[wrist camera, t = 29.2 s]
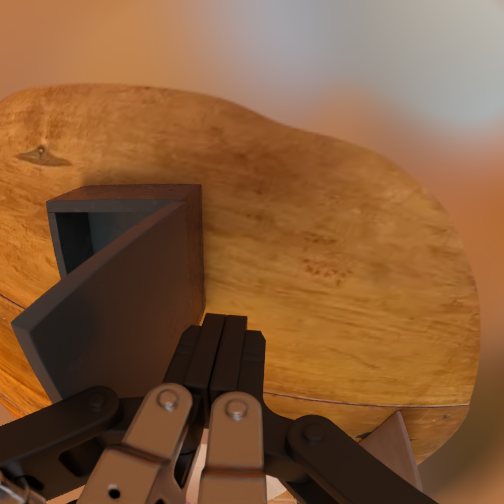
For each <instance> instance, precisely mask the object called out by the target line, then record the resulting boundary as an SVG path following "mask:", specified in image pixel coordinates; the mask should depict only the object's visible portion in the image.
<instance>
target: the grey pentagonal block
mask: <svg viewBox="0 0 504 504" xmlns="http://www.w3.org/2000/svg"><path fill="white" fill-rule="evenodd" d="M358 444H359V445H360V446H362V447H363V448H364V449H365V450H367V451H368V452H369V453H370V454H372V455H373V456H374V457H375V458H377V459H378V460H379V461H380V462H382V463H383V464H384V465H386V466H387V467H388V468H390V469H391V470H392V471H393V472H395V473H396V474H397V475H399V476H400V477H401V478H403V479H404V480H406V481H407V482H408V483H410V484H411V485H412V486H414V487H415V488H417V489H418V490H419V491H421V492H422V493H423V488H422V484H421V480H420V476H419V472H418V468H417V465H416V461H415V457H414V454H413V450H412V447H411V443H410V440H409V437H408V433H407V430H406V427H405V424H404V421H403V417H402V414H401V412H400V411H397V412H395V413H394V414H393V415H392V416H391V417H390V418H388V419H387V420H386V421H385V422H384V423H383V424H381V425H380V426H379V427H378V428H377V429H375V430H374V431H373V432H372V433H370V434H369V435H368V436H367V437H365V438H364V439H363V440H362V441H360V442H359V443H358Z"/></svg>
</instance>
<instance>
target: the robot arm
mask: <svg viewBox="0 0 504 504" xmlns="http://www.w3.org/2000/svg"><path fill="white" fill-rule="evenodd" d="M265 345H266V340H265V338H264V336H263V335H262V333H261V331H254V330H247V316H237V315H224V314H213V313H206V315H205V318H204V321H203V324H202V326H198V325H191V326H190V327H189V328H187V329H186V330H185V331H184V332H183V333H182V335H181V338H180V340H179V342H178V345H177V347H176V349H175V353H174V354H173V357H172V359H171V362H170V364H169V366H168V369H167V371H166V374H165V376H164V379H163V381H162V383H161V384H159V385H157V386H155V387H153V388H152V389H150V390H149V392H148V393H147V394H146V396H142V397H131V398H119V397H118V395H117V393H116V392H115V391H114V390H113V389H111V388H109V387H106V386H93V387H90V388H88V389H85V390H83V391H81V392H79V393H77V394H75V395H72V396H70V397H68V398H66V399H64V400H61V401H59V402H57V403H55V404H52V405H50V406H48V407H45V408H43V409H41V410H39V411H36V412H34V413H31V414H29V415H27V416H24V417H22V418H20V419H17V420H15V421H12V422H10V423H7V424H5V425H2V426H0V504H46V501H48V500H51V499H53V498H55V497H58V496H60V495H63V494H65V493H68V492H70V491H72V490H74V489H77V488H79V487H81V486H83V485H85V484H86V485H85V487H84V489H83V491H82V493H81V495H80V497H79V499H76V500H73V501H71V502H69V503H67V504H186V493H187V489H188V486H189V483H190V480H191V477H192V474H193V471H194V467H195V464H196V461H197V458H198V455H199V452H200V449H201V439H202V435H203V431H204V429H209V432H208V441H207V450H206V459H205V466H204V468H203V469H202V471H201V476H200V482H199V492H198V501H197V504H267V482H266V475H268V476H271V477H274V478H277V479H278V480H279V482H280V483H281V484H282V485H283V486H284V487H285V488H286V489H287V490H288V491H289V492H290V493H291V494H292V495H293V496H294V497H295V498H296V499H297V500H298V501H299V502H300V503H301V504H438V503H437V502H435V501H434V500H432V499H431V498H430V497H428V496H426V495H425V494H424V493H422V492H421V491H419V490H418V489H417V488H415V487H414V486H412V485H411V484H410V483H408V482H407V481H406V480H404V479H403V478H401V477H400V476H399V475H397V474H396V473H395V472H393V471H392V470H391V469H390V468H388V467H387V466H386V465H384V464H383V463H382V462H380V461H379V460H378V459H377V458H375V457H374V456H373V455H372V454H370V453H369V452H368V451H367V450H365V449H364V448H363V447H362V446H360V445H359V444H358V443H357V442H356V441H354V440H353V439H352V438H351V437H349V436H348V435H347V434H346V433H345V432H344V431H342V430H341V429H340V428H339V427H338V426H336V425H335V424H334V423H333V422H332V421H330V420H329V419H327V418H325V417H322V416H319V415H306V416H302V417H300V418H298V419H296V420H292V419H289V418H285V417H282V416H279V415H277V414H275V413H274V412H272V411H271V410H270V409H269V408H268V407H267V406H266V404H265V403H264V400H263V380H264V363H265Z"/></svg>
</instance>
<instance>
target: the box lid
mask: <svg viewBox="0 0 504 504" xmlns="http://www.w3.org/2000/svg"><path fill="white" fill-rule="evenodd" d="M191 325H193V323H192V313H191V301H190V288H189V274H188V258H187V239H186V214H185V203H184V202H171V203H169V204H168V205H166V206H165V207H163V208H162V209H160V210H158V211H157V212H155V213H154V214H152V215H151V216H149V217H148V218H146V219H145V220H143V221H142V222H140V223H139V224H137V225H136V226H134V227H133V228H131V229H130V230H128V231H127V232H125V233H124V234H122V235H121V236H120V237H118V238H117V239H115V240H114V241H112V242H111V243H110V244H108V245H107V246H105V247H104V248H103V249H101V250H100V251H99V252H97V253H96V254H94V255H93V256H92V257H90V258H89V259H88V260H86V261H85V262H84V263H82V264H81V265H80V266H78V267H77V268H76V269H74V270H73V271H72V272H71V273H69V274H68V275H67V276H65V277H64V278H63V279H62V280H60V281H59V282H58V283H57V284H55V285H54V286H53V287H52V288H50V289H49V290H48V291H47V292H46V293H44V294H43V295H42V296H41V297H39V298H38V299H37V300H36V301H35V302H34V303H32V304H31V305H30V306H29V307H28V308H27V309H25V310H24V311H23V312H22V313H21V314H20V315H19V316H17V317H16V318H15V319H14V320H13V321H12V322H11V326H12V328H13V331H14V333H15V335H16V337H17V339H18V342H19V344H20V346H21V348H22V350H23V352H24V354H25V356H26V358H27V360H28V362H29V364H30V366H31V367H32V369H33V371H34V373H35V375H36V376H37V378H38V380H39V382H40V383H41V385H42V387H43V388H44V390H45V392H46V393H47V395H48V397H49V398H50V400H51V401H52V403H53V404H55V403H57V402H59V401H61V400H64V399H66V398H68V397H70V396H72V395H75V394H77V393H79V392H81V391H83V390H85V389H88V388H90V387H93V386H106V387H109V388H111V389H113V390H114V391H115V392H116V393H117V395H118V397H119V398H131V397H142V396H146V394H147V393H148V392H149V390H150V389H152V388H153V387H155V386H157V385H159V384H161V383H162V381H163V379H164V376H165V374H166V371H167V369H168V366H169V364H170V362H171V359H172V357H173V354H174V353H175V349H176V347H177V345H178V342H179V340H180V338H181V335H182V333H183V332H184V331H185V330H186V329H187V328H189V327H190V326H191Z"/></svg>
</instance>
